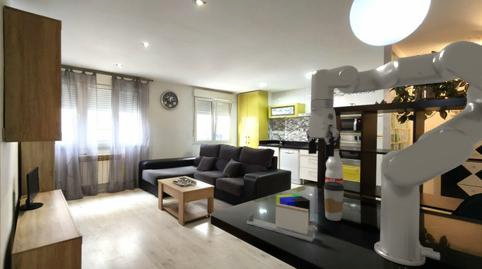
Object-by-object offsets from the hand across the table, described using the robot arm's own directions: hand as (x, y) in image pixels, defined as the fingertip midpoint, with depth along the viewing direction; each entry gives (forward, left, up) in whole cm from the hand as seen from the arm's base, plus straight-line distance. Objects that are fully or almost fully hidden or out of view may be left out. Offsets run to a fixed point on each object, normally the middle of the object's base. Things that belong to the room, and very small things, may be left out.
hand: (320, 155), depth 79 cm
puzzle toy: (+13, -8, -29) cm, 33 cm away
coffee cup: (0, -23, -29) cm, 37 cm away
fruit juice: (+7, -57, -29) cm, 64 cm away
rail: (+14, +3, -29) cm, 32 cm away
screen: (+9, +3, -27) cm, 29 cm away
